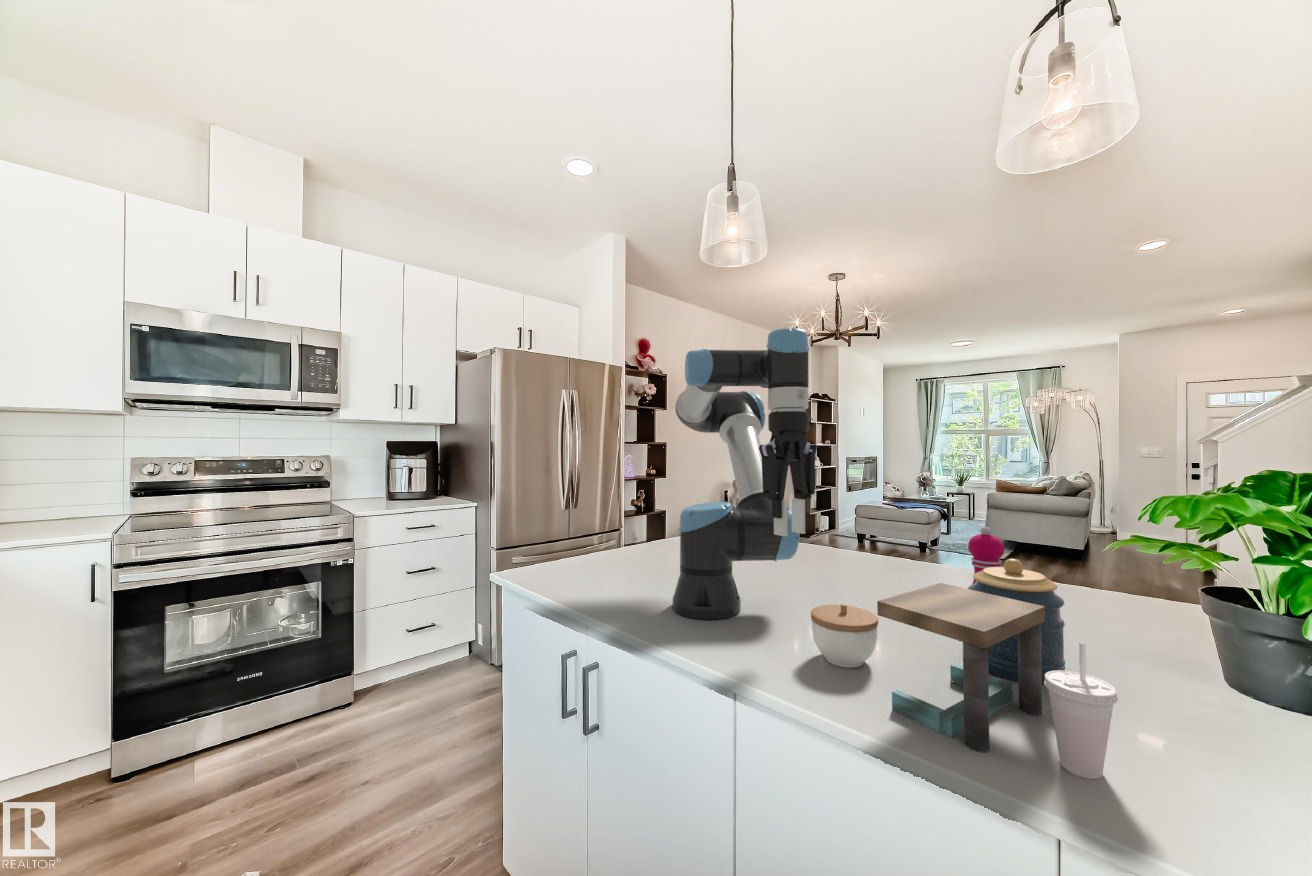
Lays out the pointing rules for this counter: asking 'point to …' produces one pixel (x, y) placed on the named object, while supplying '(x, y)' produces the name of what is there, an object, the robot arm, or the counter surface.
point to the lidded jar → (844, 634)
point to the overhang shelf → (972, 655)
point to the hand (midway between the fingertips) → (789, 533)
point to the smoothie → (1081, 718)
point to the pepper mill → (985, 550)
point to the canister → (1031, 590)
